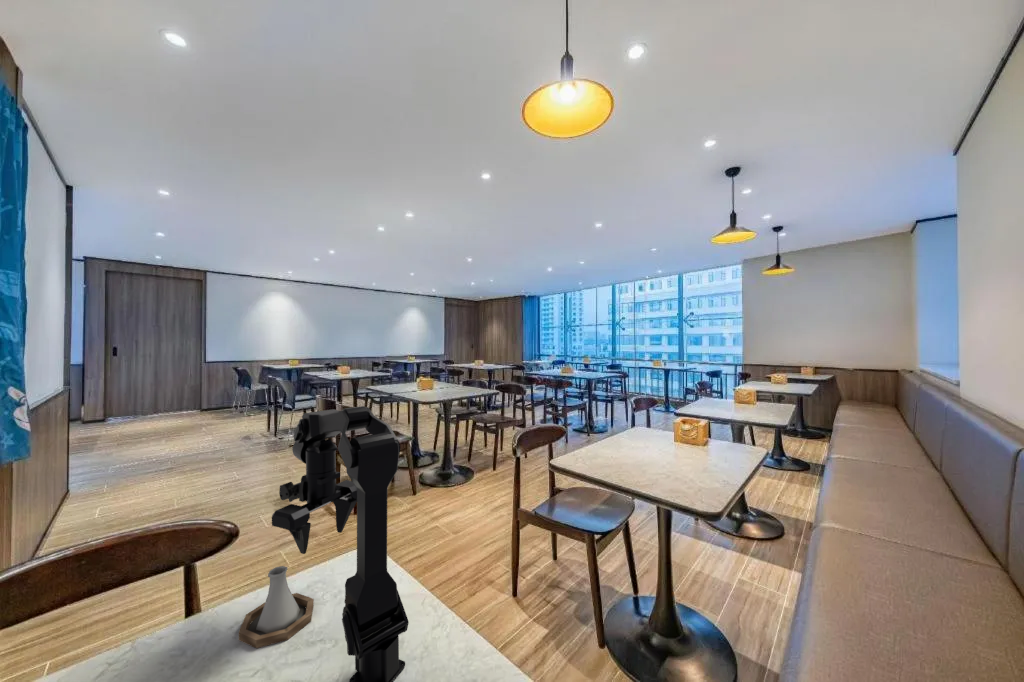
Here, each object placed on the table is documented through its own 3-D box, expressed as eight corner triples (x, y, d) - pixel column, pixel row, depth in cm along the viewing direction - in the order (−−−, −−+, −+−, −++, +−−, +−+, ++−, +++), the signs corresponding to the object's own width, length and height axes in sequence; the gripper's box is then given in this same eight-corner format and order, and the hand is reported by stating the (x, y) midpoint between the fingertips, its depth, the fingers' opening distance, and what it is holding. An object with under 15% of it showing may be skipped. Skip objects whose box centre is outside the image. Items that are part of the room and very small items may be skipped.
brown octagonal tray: (325, 610, 80) (325, 602, 80) (269, 654, 69) (269, 645, 69) (285, 595, 84) (285, 588, 84) (226, 634, 73) (226, 627, 73)
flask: (285, 634, 73) (285, 582, 73) (247, 634, 73) (246, 582, 73) (306, 608, 80) (306, 559, 80) (272, 608, 80) (271, 560, 80)
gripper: (329, 453, 94) (330, 517, 94) (252, 479, 77) (253, 557, 77) (364, 458, 90) (365, 525, 90) (291, 487, 73) (292, 569, 73)
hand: (322, 542), depth 83 cm, fingers open, 9 cm apart
